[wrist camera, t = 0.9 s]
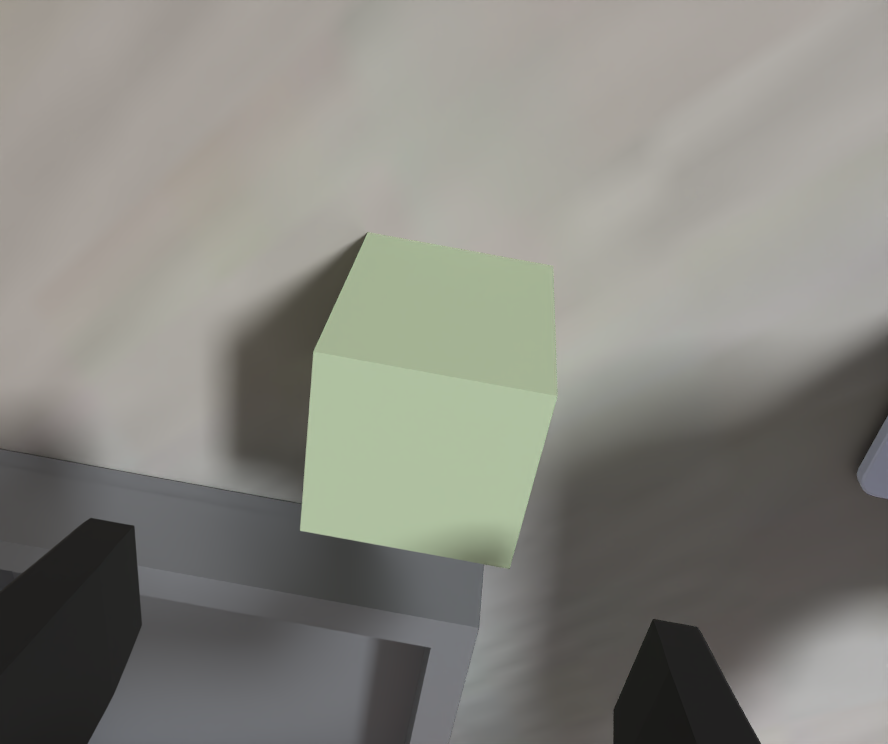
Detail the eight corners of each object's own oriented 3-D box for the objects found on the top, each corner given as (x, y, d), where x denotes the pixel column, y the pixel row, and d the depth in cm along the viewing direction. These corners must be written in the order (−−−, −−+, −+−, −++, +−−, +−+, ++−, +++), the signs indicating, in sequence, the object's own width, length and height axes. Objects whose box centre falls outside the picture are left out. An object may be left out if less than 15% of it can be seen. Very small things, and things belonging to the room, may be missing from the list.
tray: (485, 538, 22) (479, 627, 19) (416, 818, 29) (404, 909, 27) (-34, 443, 22) (-109, 520, 19) (31, 748, 29) (-17, 832, 27)
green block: (552, 265, 17) (557, 396, 13) (515, 415, 19) (509, 568, 15) (368, 231, 17) (313, 352, 13) (351, 385, 20) (300, 531, 15)
